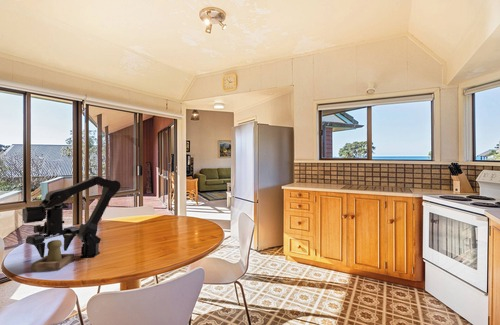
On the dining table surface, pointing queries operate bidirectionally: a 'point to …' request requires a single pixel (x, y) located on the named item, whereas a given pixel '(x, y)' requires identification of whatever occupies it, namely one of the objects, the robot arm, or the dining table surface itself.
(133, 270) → the dining table surface
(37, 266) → the socket block
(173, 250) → the dining table surface
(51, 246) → the cork
